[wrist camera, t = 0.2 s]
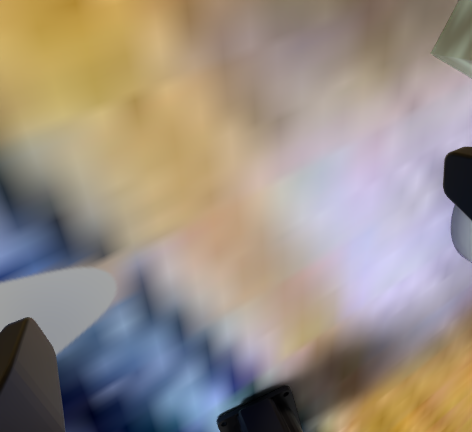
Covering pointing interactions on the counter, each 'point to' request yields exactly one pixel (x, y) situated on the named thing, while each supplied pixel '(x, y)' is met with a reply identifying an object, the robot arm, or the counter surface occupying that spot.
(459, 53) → the sage block
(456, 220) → the slate plinth
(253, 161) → the counter surface
